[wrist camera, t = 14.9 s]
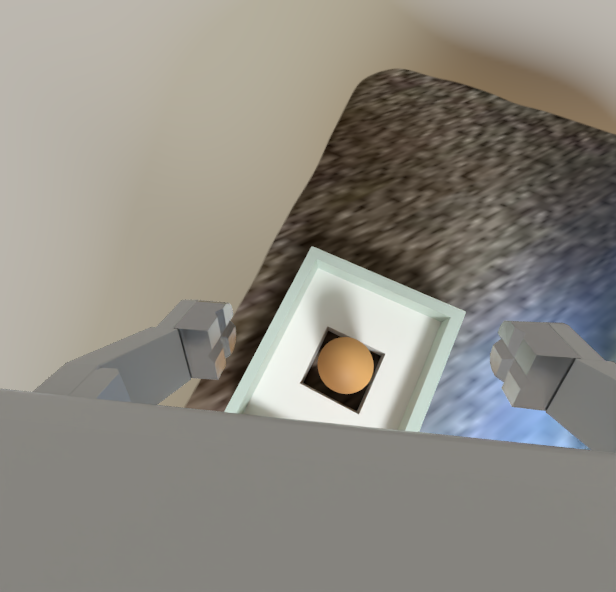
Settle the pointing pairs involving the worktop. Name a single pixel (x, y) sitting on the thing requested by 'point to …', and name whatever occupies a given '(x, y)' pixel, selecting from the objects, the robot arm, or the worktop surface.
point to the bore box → (361, 326)
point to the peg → (345, 365)
